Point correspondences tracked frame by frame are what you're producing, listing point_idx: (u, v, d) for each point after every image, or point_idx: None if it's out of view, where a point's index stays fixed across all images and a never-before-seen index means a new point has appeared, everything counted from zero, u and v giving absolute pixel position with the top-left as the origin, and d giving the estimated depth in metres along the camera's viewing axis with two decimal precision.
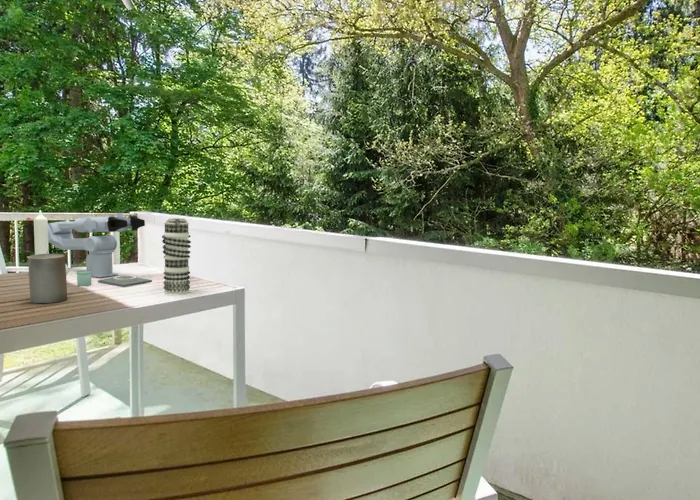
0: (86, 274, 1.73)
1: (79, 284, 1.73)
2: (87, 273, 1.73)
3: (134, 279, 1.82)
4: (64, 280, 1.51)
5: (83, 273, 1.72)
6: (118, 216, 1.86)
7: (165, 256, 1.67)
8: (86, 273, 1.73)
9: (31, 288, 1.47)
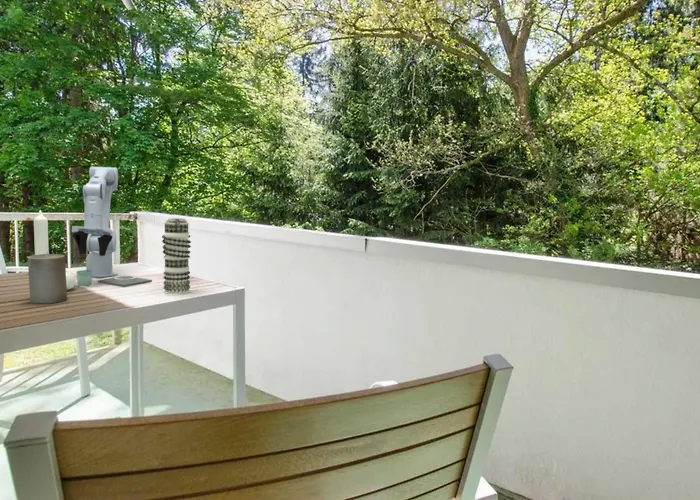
0: (86, 274, 1.73)
1: (79, 284, 1.73)
2: (87, 273, 1.73)
3: (134, 279, 1.82)
4: (64, 280, 1.51)
5: (83, 273, 1.72)
6: (97, 230, 1.73)
7: (165, 256, 1.67)
8: (86, 273, 1.73)
9: (31, 288, 1.47)
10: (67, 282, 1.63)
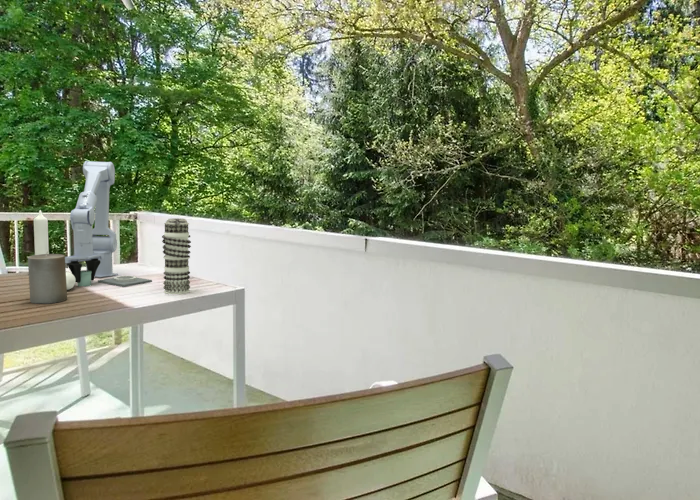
0: (86, 274, 1.73)
1: (79, 284, 1.73)
2: (87, 273, 1.73)
3: (134, 279, 1.82)
4: (64, 280, 1.51)
5: (83, 273, 1.72)
6: None
7: (165, 256, 1.67)
8: (86, 273, 1.73)
9: (31, 288, 1.47)
10: (67, 282, 1.63)
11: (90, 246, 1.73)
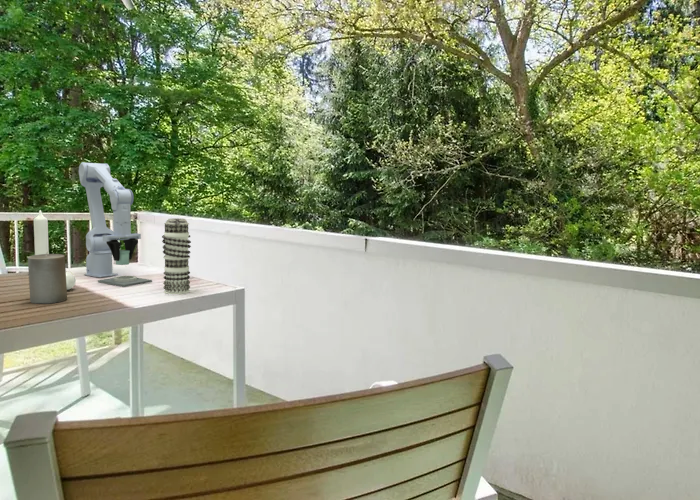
0: (125, 253, 1.79)
1: (118, 262, 1.79)
2: (126, 252, 1.80)
3: (134, 279, 1.82)
4: (64, 280, 1.51)
5: (122, 252, 1.79)
6: (126, 237, 1.79)
7: (165, 256, 1.67)
8: (125, 252, 1.79)
9: (31, 288, 1.47)
10: (67, 282, 1.63)
11: (129, 226, 1.79)
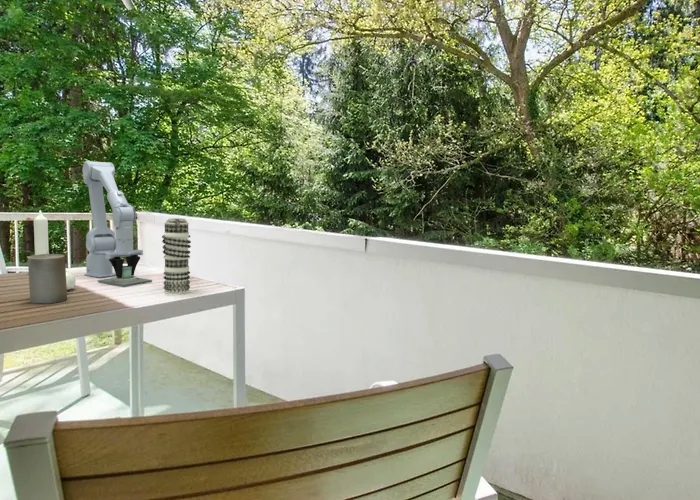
0: (128, 269, 1.81)
1: None
2: (128, 268, 1.81)
3: (134, 279, 1.82)
4: (64, 280, 1.51)
5: (125, 268, 1.80)
6: (129, 254, 1.80)
7: (165, 256, 1.67)
8: (128, 268, 1.81)
9: (31, 288, 1.47)
10: (67, 282, 1.63)
11: (131, 242, 1.80)
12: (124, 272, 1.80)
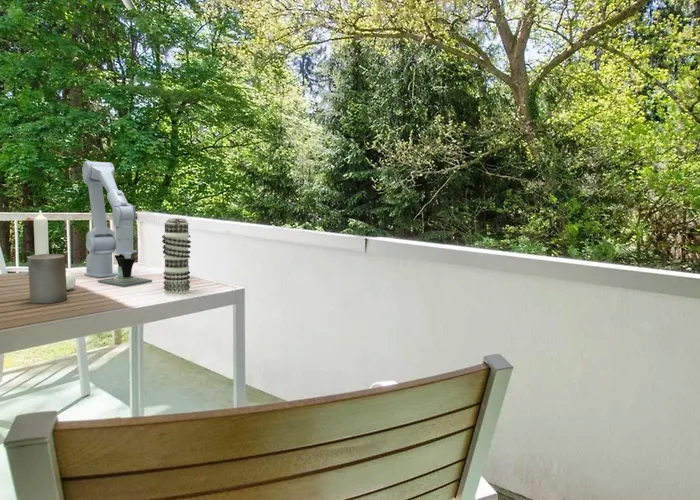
0: None
1: None
2: None
3: (134, 279, 1.82)
4: (64, 280, 1.51)
5: None
6: (133, 252, 1.82)
7: (165, 256, 1.67)
8: None
9: (31, 288, 1.47)
10: (67, 282, 1.63)
11: None
12: None
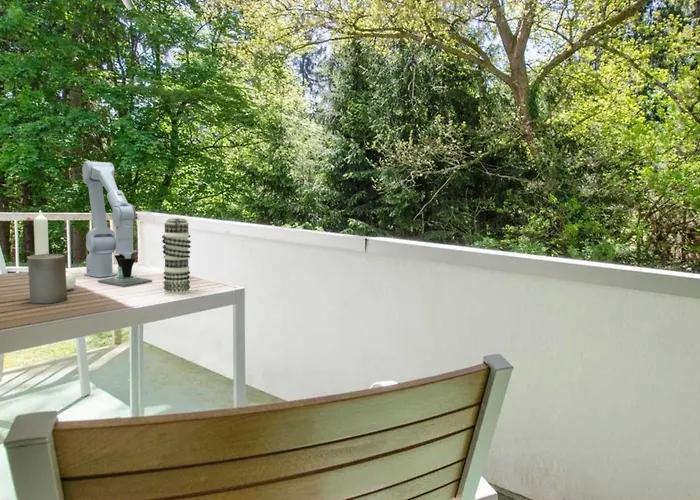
0: None
1: None
2: None
3: (134, 279, 1.82)
4: (64, 280, 1.51)
5: None
6: (133, 252, 1.82)
7: (165, 256, 1.67)
8: None
9: (31, 288, 1.47)
10: (67, 282, 1.63)
11: None
12: None
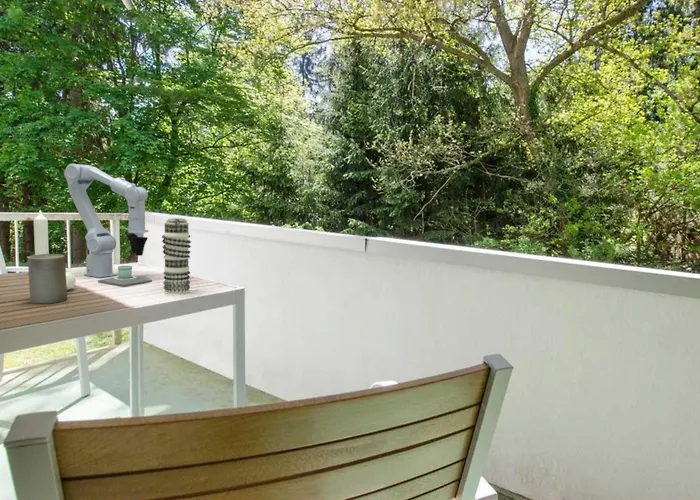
0: None
1: None
2: None
3: (134, 279, 1.82)
4: (64, 280, 1.51)
5: None
6: (144, 232, 1.90)
7: (165, 256, 1.67)
8: None
9: (31, 288, 1.47)
10: (67, 282, 1.63)
11: None
12: None
